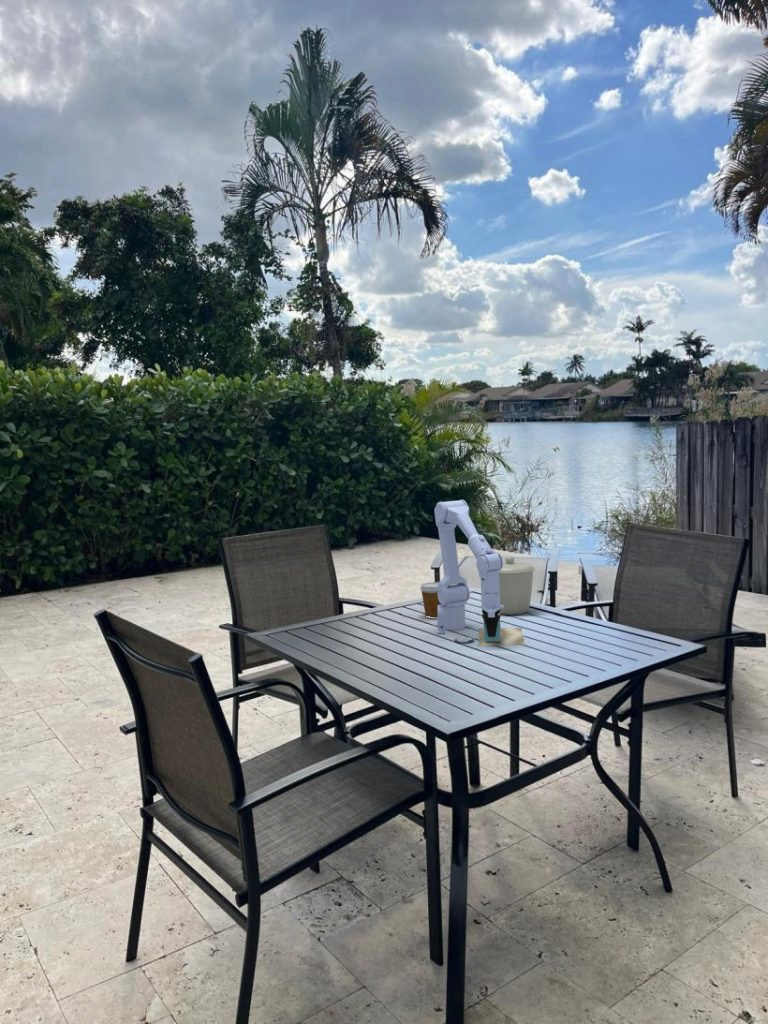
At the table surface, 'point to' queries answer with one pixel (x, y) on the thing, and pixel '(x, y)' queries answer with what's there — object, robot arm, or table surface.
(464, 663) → the table surface
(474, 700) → the table surface
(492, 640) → the housing
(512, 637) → the base board
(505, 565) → the canister
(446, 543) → the robot arm
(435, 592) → the disposable coffee cup
